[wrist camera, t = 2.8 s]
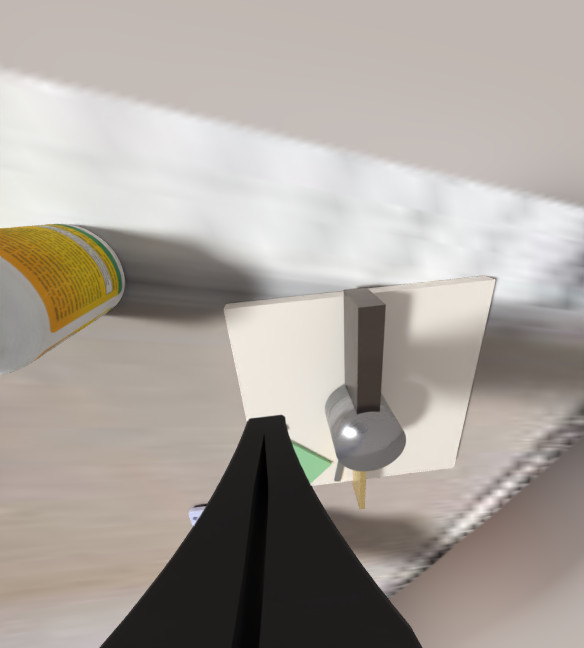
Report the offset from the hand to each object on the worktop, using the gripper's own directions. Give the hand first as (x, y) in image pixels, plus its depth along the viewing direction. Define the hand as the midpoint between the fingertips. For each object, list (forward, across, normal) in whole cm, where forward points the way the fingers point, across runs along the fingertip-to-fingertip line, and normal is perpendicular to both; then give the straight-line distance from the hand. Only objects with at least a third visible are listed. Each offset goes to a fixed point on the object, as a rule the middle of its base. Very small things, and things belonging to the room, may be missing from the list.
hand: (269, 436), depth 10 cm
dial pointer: (+8, -6, +6) cm, 11 cm away
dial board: (+9, -6, +6) cm, 12 cm away
